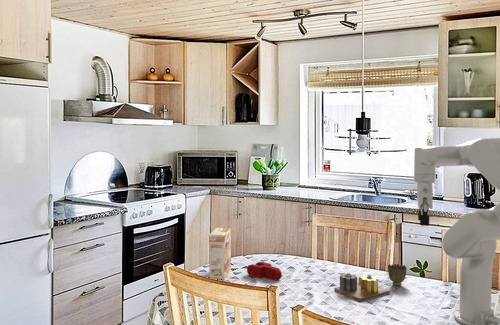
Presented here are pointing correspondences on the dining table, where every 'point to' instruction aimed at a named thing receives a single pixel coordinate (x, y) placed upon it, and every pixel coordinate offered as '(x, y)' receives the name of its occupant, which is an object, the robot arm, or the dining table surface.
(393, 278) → the cup
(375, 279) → the brass gear
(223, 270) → the coffeecake box
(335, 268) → the dining table surface
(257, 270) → the mechanical linkage
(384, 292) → the gear board
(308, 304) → the dining table surface
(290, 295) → the dining table surface
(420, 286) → the dining table surface
